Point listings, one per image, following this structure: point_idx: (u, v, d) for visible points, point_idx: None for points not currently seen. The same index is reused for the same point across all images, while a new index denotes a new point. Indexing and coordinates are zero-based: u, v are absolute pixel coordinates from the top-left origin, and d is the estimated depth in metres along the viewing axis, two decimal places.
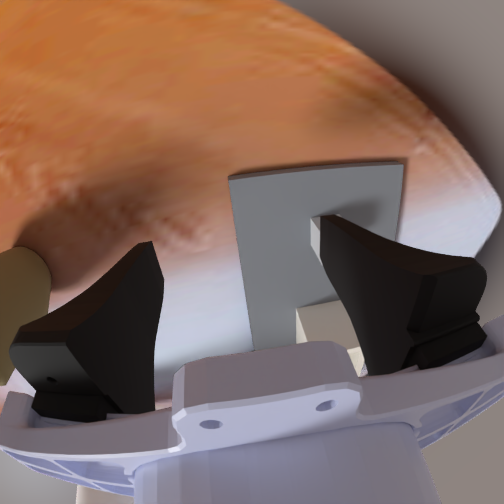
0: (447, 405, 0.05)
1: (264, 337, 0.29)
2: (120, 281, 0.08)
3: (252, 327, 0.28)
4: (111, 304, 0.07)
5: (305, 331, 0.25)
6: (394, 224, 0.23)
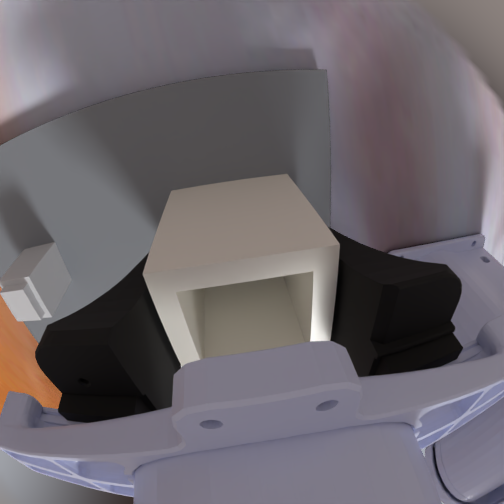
0: (447, 405, 0.05)
1: None
2: None
3: None
4: (145, 300, 0.07)
5: None
6: (11, 145, 0.09)
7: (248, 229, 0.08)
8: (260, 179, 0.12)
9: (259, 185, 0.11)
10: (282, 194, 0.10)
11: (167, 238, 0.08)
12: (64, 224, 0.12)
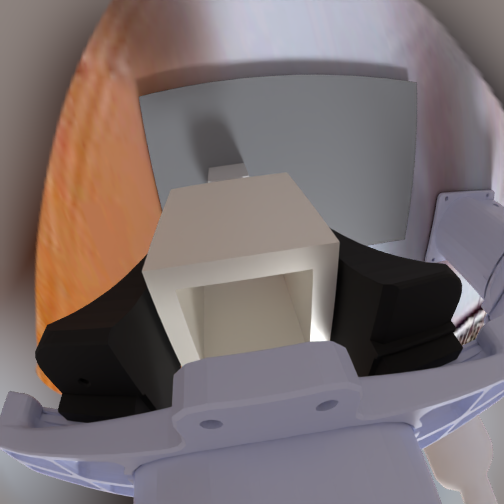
0: (447, 405, 0.05)
1: (372, 232, 0.23)
2: None
3: None
4: (144, 300, 0.07)
5: None
6: (223, 84, 0.16)
7: (248, 227, 0.08)
8: (260, 178, 0.12)
9: (259, 184, 0.11)
10: (282, 192, 0.10)
11: (167, 236, 0.08)
12: (258, 149, 0.19)
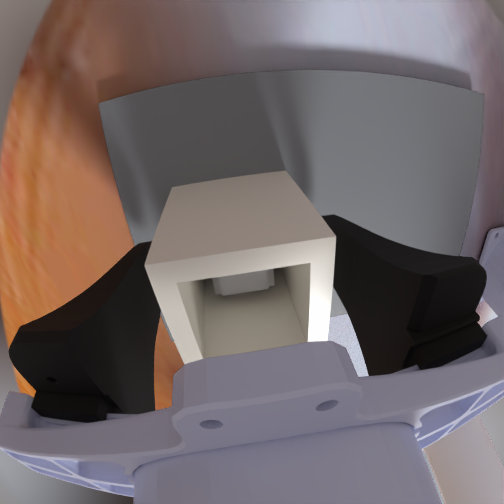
0: (447, 405, 0.05)
1: None
2: (120, 281, 0.08)
3: None
4: (111, 304, 0.07)
5: None
6: (227, 82, 0.10)
7: (247, 222, 0.09)
8: (259, 176, 0.12)
9: (258, 181, 0.12)
10: (280, 189, 0.11)
11: (168, 231, 0.09)
12: None
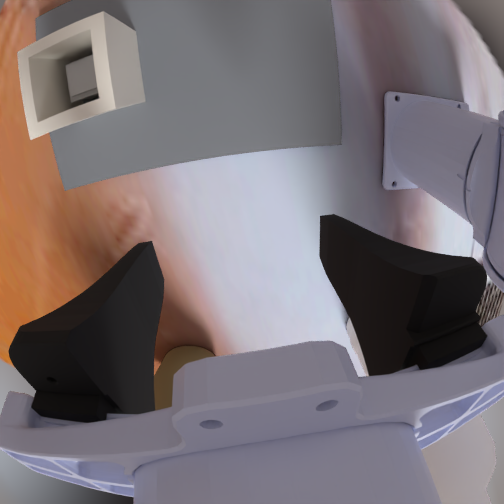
0: (447, 405, 0.05)
1: (289, 130, 0.18)
2: (120, 281, 0.08)
3: (264, 147, 0.18)
4: (111, 304, 0.07)
5: None
6: None
7: None
8: None
9: None
10: None
11: None
12: None
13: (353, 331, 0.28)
